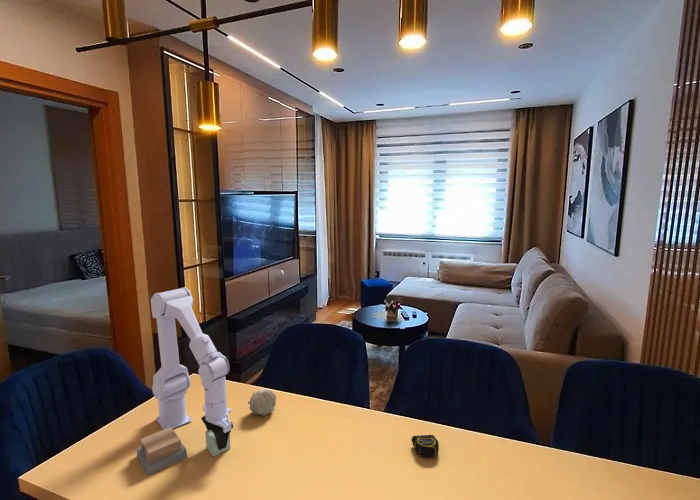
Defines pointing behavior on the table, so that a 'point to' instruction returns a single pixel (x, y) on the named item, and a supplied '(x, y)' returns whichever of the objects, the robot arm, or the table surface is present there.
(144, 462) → the tower base
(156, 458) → the tower top
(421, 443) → the tape measure
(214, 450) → the green cube
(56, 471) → the table surface
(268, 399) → the garlic bulb
